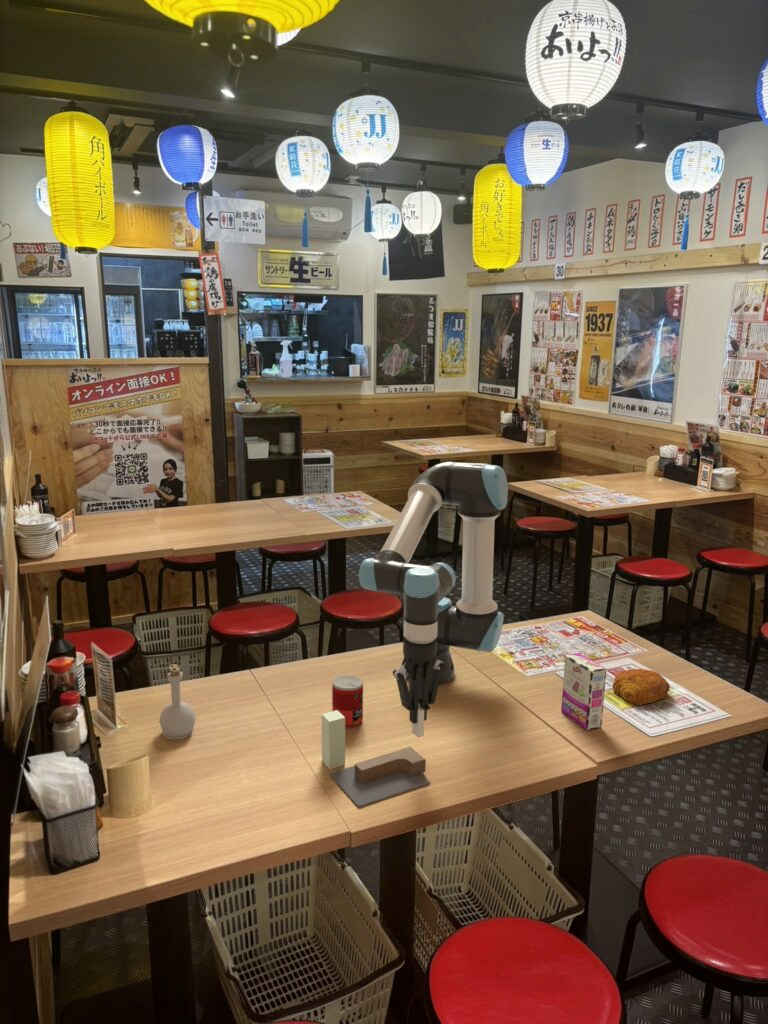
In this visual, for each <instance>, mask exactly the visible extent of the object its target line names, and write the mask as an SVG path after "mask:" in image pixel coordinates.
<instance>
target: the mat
mask: <svg viewBox="0 0 768 1024" xmlns="http://www.w3.org/2000/svg"><path fill="white" fill-rule="evenodd" d="M328 774H329V776H330V777H331V779H332V780H334V783H336V784H337V786H339V788H341V790H342V791H343V792H344V793H345V794H346V796H347V797H348V798H349V799H350V800H351V801H352V803H354V804H355V806H357V808H359V809H360V808H362V807H366V806H368V805H371V804H375V803H378V802H380V801H383V800H386V799H390V798H392V797H395V796H398V795H402V794H405V793H408V792H410V791H413V790H416V789H418V788H422V787H425V786H428V785H430V784H431V781H429V780H428V779H427V778H426V777H425V776H424V775H423V774H422V773H421V774H418V775H415V776H411V775H410V774H409V773H407V772H404V771H399V772H395V773H392V774H389V775H386V776H383V777H380V778H377V779H374V780H371V781H368V782H365V783H360V782H359V781H358V780H357V779H356V778H355V765H353V766H349V767H345V768H342V769H339V770H336V771H333V772H329V773H328Z"/></svg>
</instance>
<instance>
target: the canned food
mask: <svg viewBox="0 0 768 1024" xmlns="http://www.w3.org/2000/svg"><path fill="white" fill-rule="evenodd" d="M331 686H332V687H331V694H332V695H331V697H332V698H331V701H332V702H331V703H332V704H331V705H332V707H331V708H332V709H331V710H332V711H336V710H338V711H339V712H340V713H341V714H342V715H343V716H344V717H345V729H346V728H354V727H357V726H359V725H360V724H362V722H363V719H364V718H363V717H364V681H363V680H362V678H360V677H358V676H354V675H340V676H337V677H335V678H334V679H333V680H332V685H331ZM332 711H331V712H332Z"/></svg>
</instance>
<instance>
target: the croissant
mask: <svg viewBox="0 0 768 1024" xmlns="http://www.w3.org/2000/svg"><path fill="white" fill-rule="evenodd" d="M612 690H613V693H614V694H615V693H616V694H615V695H617V694H618V695H621V696H620V697H621V698H622V699H623V698H624V700H625V701H627V702H628V703H631V702H632V703H631V704H633V703H635V704H634V705H637V704H644V705H647V703H649V704H651V703H654V702H656V701H658V700H660V698H661V699H662V697H663V698H664V697H666V696H667V694H668V693H669V692H670V684H669V682H668V681H667V679H666V678H665V677H664V676H663V675H661V674H660V673H659V672H656V671H654V670H650V669H645V668H644V669H643V668H631V669H627V670H623V671H619V672H618V673H617V674H616V675H614V679H613V683H612ZM618 695H617V696H618Z"/></svg>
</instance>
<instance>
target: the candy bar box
mask: <svg viewBox="0 0 768 1024" xmlns="http://www.w3.org/2000/svg"><path fill="white" fill-rule="evenodd" d="M564 657H565V658H564V671H563V681H562V683H563V684H562V695H561V696H562V697H561V709H560V710H561V713H562V714H563V715H565V716H566V717H568V718H569V719H571V720H572V721H573V722H574V723H576V724H577V725H578V726H580V727H582V728H583V729H584V730H586V731H591V730H597V729H600V728H602V726H603V725H602V724H603V711H604V701H605V700H604V699H605V690H606V686H605V685H606V677H607V668H606V667H604V666H602V665H601V664H599V663H597V662H596V661H594V660H591V659H590V658H588V657H587V656H586V655H583V654H582V653H579V652H578V653H573V654H572V653H571V654H567V655H565V656H564Z"/></svg>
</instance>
